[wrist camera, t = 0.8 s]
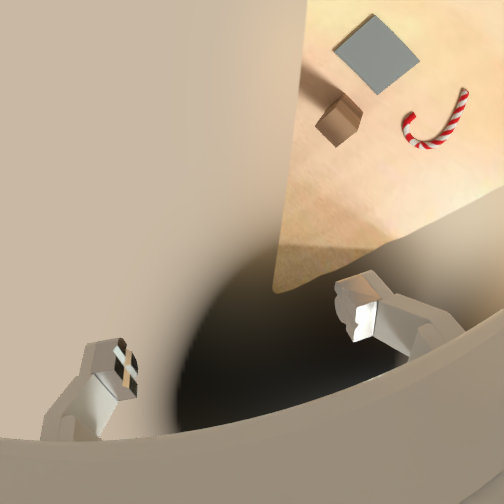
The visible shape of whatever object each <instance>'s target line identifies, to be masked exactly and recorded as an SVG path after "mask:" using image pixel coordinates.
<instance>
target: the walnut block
mask: <svg viewBox="0 0 504 504" xmlns="http://www.w3.org/2000/svg"><path fill="white" fill-rule="evenodd" d="M362 114H363V112H362V110H361V109H360V108H359V107H358V106H357V105H356V104H355V103H354V102H353V101H352V100H351V99H350V98H349V97H348V96H347V95H346V94H343V95H342V96H341V97H340V98H339V99H338V100H337V101H335V102H334V103H333V104H332V105H331V106H330V107H329V108H328V109H327V110H326V111H325V113H324V114H323V115H322V117H321V118H320V120H319V121H318V122H317V124H316V125H315V127H316V128H317V129H318V130H319V131H320V132H321V133H322V134H323V135H324V136H325V137H326V138H327V139H328V140H329V141H330V142H331V143H332V144H333V145H334V146H335V147H338V146H339V145H340V144H341V143H343V142H344V141H345V140H346V139H348V138H349V137H350V136H351V135H353V134H354V133H355V132H356V131H357V130H358V127H359V124H360V121H361V118H362Z"/></svg>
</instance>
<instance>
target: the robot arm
mask: <svg viewBox="0 0 504 504" xmlns="http://www.w3.org/2000/svg"><path fill="white" fill-rule="evenodd" d="M335 291H336V293H337V294H338V295H337V297H336V298H335V308H336V312H337V314H338V317H339V319H340V321H341V322H342V323H345V324H346V330H347V332H348V334H349V336H350V337H351V339H352V340H353V342H356V341H359V340H361V339H364V338H367V337H370V336H373V335H374V337H376V338H377V339H379V340H381V341H383V342H384V343H386V344H388V345H389V346H391V347H393V348H395V349H396V350H398V351H400V352H402V353H403V354H405V355H407V356H409V359H408V362H407V363H406V364H404V365H402V366H399V367H397V368H395V369H393V370H391V371H388V372H386V373H384V374H382V375H379V376H377V377H374V378H372V379H370V380H367V381H365V382H362V383H360V384H357V385H355V386H352V387H350V388H347V389H345V390H342V391H339V392H336V393H334V394H331V395H328V396H325V397H322V398H319V399H317V400H313V401H310V402H307V403H304V404H301V405H298V406H295V407H291V408H288V409H285V410H281V411H278V412H274V413H271V414H267V415H263V416H259V417H256V418H252V419H247V420H243V421H239V422H235V423H230V424H225V425H221V426H216V427H211V428H205V429H200V430H195V431H189V432H183V433H175V434H169V435H162V436H153V437H145V438H135V439H122V440H107V441H103V440H102V439H101V438H99V436H100V435H101V433H102V431H103V429H104V427H105V425H106V423H107V422H108V420H109V418H110V416H111V414H112V413H113V411H114V409H115V407H116V405H117V404H118V401H121V400H128V399H133V398H137V383H136V381H135V380H134V379H135V378H136V376H137V375H138V365H137V361H136V359H135V356H134V354H133V353H132V352H131V351H129V350H127V349H126V346H127V344H126V342H125V341H124V339H123V338H115V339H110V340H105V341H99V342H95V343H88V344H87V345H86V346H85V350H84V354H83V359H82V364H81V368H80V373H79V376H76V377H75V378H74V379H73V381H72V382H71V383H70V384H69V385H68V387H67V388H66V389H65V390H64V392H63V393H62V394H61V395H60V397H59V398H58V399H57V400H56V402H55V403H54V404H53V405H52V407H51V408H50V409H49V410H48V412H47V413H46V414H45V416H44V421H43V426H42V432H41V437H40V441H34V440H20V439H9V438H0V504H504V308H503V309H501V310H500V311H498V312H497V313H495V314H494V315H492V316H491V317H489V318H488V319H486V320H485V321H483V322H481V323H480V324H478V325H476V326H475V327H473V328H471V329H470V330H468V331H466V332H465V331H464V330H463V329H462V327H461V326H460V325H459V324H458V323H457V321H456V320H455V319H454V318H453V317H452V316H451V315H450V314H449V312H446V311H444V310H441V309H438V308H435V307H433V306H430V305H427V304H425V303H422V302H419V301H416V300H414V299H411V298H408V297H405V296H403V295H400V294H395V295H394V294H393V293H392V292H391V291H390V289H389V288H388V287H387V286H386V285H385V284H384V282H383V281H382V280H381V279H380V278H379V277H378V276H377V274H376V273H375V272H374V271H372V270H370V271H367V272H364V273H361V274H359V275H355V276H352V277H349V278H346V279H343V280H340V281H337V282H336V283H335Z"/></svg>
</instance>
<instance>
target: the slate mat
mask: <svg viewBox="0 0 504 504" xmlns="http://www.w3.org/2000/svg"><path fill="white" fill-rule="evenodd" d="M334 53H336V54H337V55H338V56H339V57H340V58H341V59H342V60H343V61H344V62H345V63H346V64H347V65H348V66H349V67H350V68H351V69H352V70H354V71H355V72H356V73H357V74H358V75H359V76H360V77H361V78H362V80H363V81H364V82H365V83H366V84H367V85H368V86H369V87H370V88H371V89H372V90H373V91H374V92H375V93H376V94H377V95H378V94H379V93H381V92H382V91H383V90H384V89H386V88H387V87H388V86H389V85H391V84H392V83H393V82H394V81H396V80H397V79H398V78H400V77H401V76H402V75H403V74H405V73H406V72H407V71H408V70H410V69H411V68H412V67H414V66H415V65H416V64H417V63H419V62H420V61H419V60H418V58H417V57H416V56H415V55H414V54H413V53H412V52H411V51H410V49H409V48H408V47H407V46H406V45H405V44H404V43H403V42H402V41H401V40H400V39H399V38H398V37H397V36H396V35H395V34H394V33H393V32H392V31H391V30H390V29H389V28H388V27H387V26H386V25H385V24H384V23H383V22H382V21H381V20H380V19H379V18H378V17H377V16H376V15H375V16H374V17H372V18H371V19H370V20H369V21H368V22H367V23H366V24H364V25H363V26H362V27H361V28H360V29H359V30H358V31H356V32H355V33H354V34H353V35H352V36H351V37H350V38H349V39H348V40H346V41H345V42H344V43H343V44H342V45H341V46H340V47H339V48H338V49H337V50H336V51H335V52H334Z"/></svg>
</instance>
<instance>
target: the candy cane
mask: <svg viewBox="0 0 504 504" xmlns="http://www.w3.org/2000/svg"><path fill="white" fill-rule="evenodd" d="M468 95H469V92H468V91H467V90H465V89H463V90H462V93H461V96H460V99H459V102H458V104H457V107H456V109H455V112H454V114H453V116H452V118H451V120H450V122H449V124H448V126H447V127H446V129H445V130H444V132H443V133H442V134H441V135H440V136H439V137H438V138H437V139H435V140H433V141H431V142H421V141H418V140H416V139H415V138H414V137H413V136H412V135H411V134H410V131H409V124H410V122H411V121H412V120H413V119H415V118H416V115H415V114H414V112H412V113H410V114H409V115H408V116H407V117H406V118H405V120H404V122H403V133H404V136H405V138H406V139H407V141H408V142H409V143H410V144H412V145H413V146H415V147H417V148H420V149H432V148H435V147H437V146H439V145H441V144H442V143H443V142H444V141H445V140H446V139H447V138H448V137H449V136H450V135H451V133H452V132H453V130H454V128H455V127H456V125H457V123H458V121H459V119H460V117H461V114H462V112H463V110H464V107H465V104H466V101H467V98H468Z"/></svg>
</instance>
